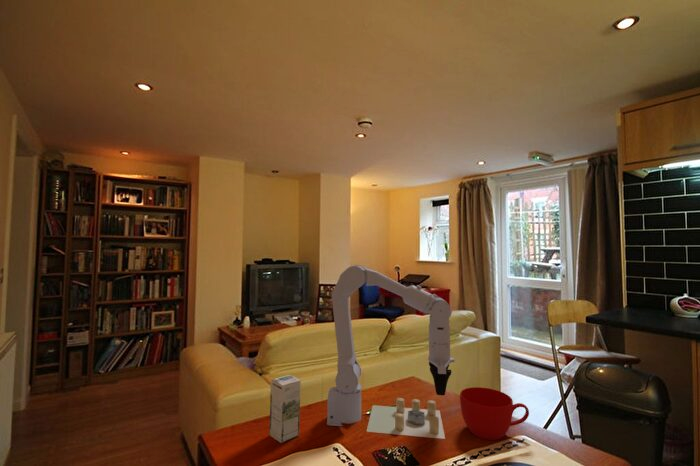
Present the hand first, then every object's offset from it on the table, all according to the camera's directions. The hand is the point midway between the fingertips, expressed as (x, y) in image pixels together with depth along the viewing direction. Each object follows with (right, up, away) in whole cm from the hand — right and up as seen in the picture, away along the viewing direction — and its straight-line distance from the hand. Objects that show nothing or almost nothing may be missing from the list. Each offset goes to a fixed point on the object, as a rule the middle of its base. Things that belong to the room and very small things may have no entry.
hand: (439, 391), depth 95 cm
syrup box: (-42, -9, -6) cm, 43 cm away
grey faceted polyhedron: (-6, -8, +1) cm, 11 cm away
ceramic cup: (+13, -9, -5) cm, 17 cm away
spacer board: (-9, -9, +1) cm, 13 cm away
